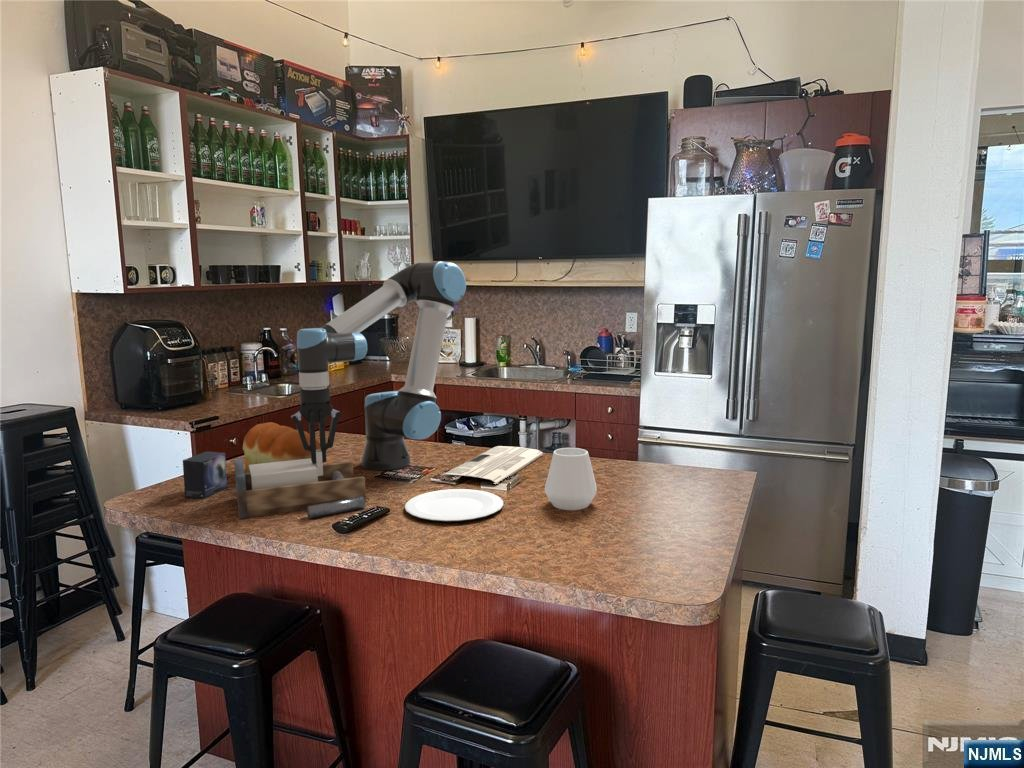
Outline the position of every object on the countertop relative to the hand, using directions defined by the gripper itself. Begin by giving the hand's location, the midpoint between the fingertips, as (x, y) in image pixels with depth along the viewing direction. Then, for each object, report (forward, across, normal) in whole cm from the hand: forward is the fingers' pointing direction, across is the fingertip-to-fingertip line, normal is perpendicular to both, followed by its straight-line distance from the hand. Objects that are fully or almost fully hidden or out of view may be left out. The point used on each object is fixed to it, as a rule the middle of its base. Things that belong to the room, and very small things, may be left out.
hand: (319, 474), depth 185 cm
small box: (+7, +28, -18) cm, 34 cm away
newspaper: (+7, -54, -8) cm, 55 cm away
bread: (+7, +7, -27) cm, 29 cm away
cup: (+7, -58, +34) cm, 67 cm away
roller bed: (+6, +5, 0) cm, 8 cm away
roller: (+6, -2, +15) cm, 16 cm away
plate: (+7, -30, +24) cm, 39 cm away
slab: (+1, +9, 0) cm, 9 cm away
